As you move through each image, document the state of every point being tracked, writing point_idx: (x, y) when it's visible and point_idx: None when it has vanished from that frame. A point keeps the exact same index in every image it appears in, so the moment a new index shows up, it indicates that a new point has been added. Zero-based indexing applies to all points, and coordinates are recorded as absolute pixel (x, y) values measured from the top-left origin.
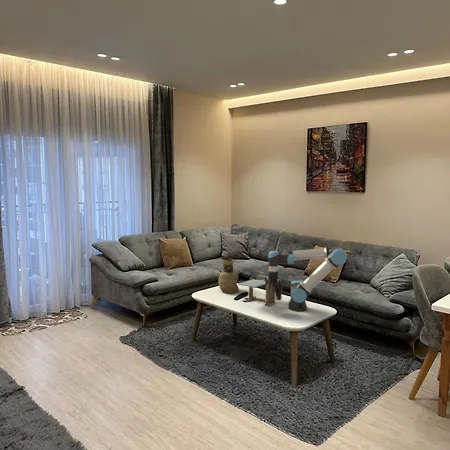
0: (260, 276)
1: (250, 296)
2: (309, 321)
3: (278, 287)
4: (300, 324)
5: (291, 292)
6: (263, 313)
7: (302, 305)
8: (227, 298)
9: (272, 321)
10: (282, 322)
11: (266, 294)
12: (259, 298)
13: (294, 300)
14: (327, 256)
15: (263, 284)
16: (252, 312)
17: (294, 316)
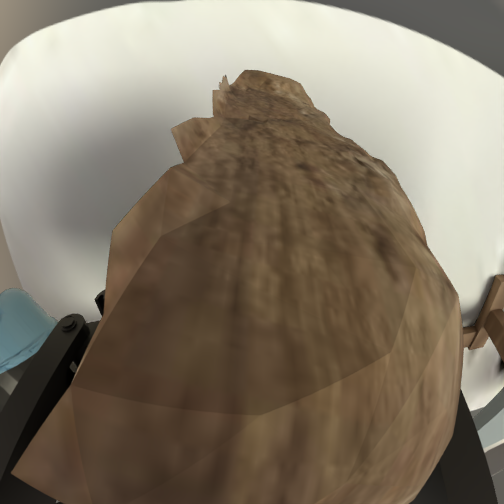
0: (491, 474)
1: (501, 320)
2: (7, 206)
3: (22, 397)
4: (2, 128)
5: (4, 361)
6: (314, 105)
7: None
8: None
9: (135, 7)
10: (72, 55)
11: (302, 116)
12: None
13: (12, 289)
14: None
15: (477, 426)
16: (407, 76)
17: (87, 218)
